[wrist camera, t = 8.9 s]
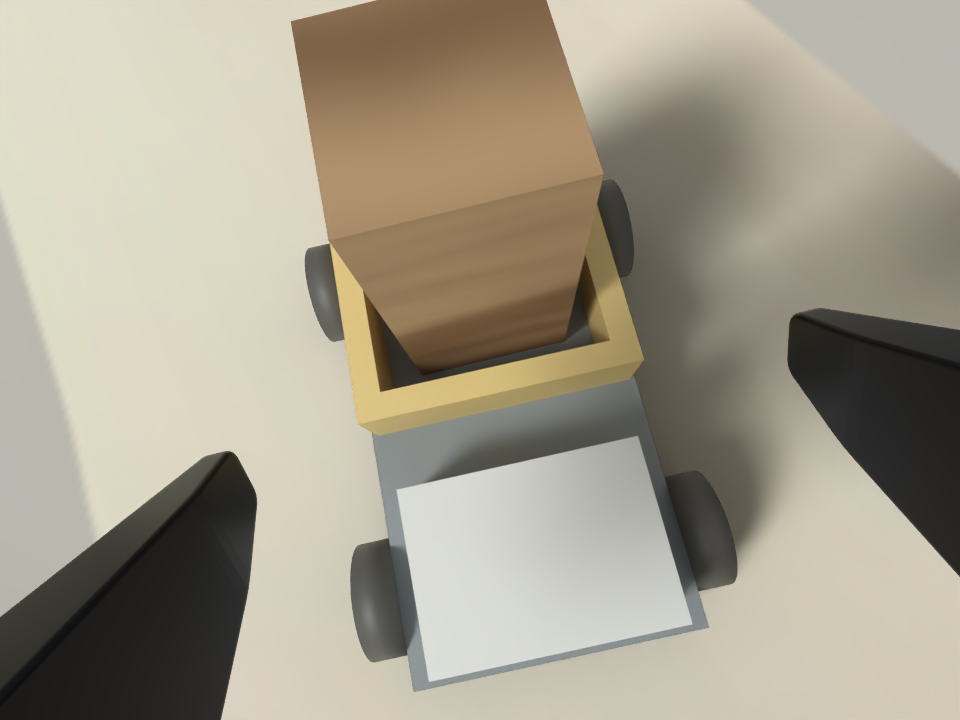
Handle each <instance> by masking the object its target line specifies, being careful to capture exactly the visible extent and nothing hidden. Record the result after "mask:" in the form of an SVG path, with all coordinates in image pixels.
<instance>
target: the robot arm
mask: <svg viewBox="0 0 960 720" xmlns="http://www.w3.org/2000/svg"><path fill="white" fill-rule="evenodd" d="M787 359H788V367H789V370H790V372H791V374H792V376H793V377H794V379H795V380H796V382H797V383H798V384H799V386H800V387H801V389H802V390H803V391H804V393H805V394H806V396H807V397H808V398H809V400H810V401H811V403H812V404H813V405H814V407H815V408H816V410H817V411H818V412H819V414H820V415H821V417H822V418H823V419H824V421H825V422H826V424H827V425H828V426H829V428H830V429H831V431H832V432H833V433H834V435H835V436H836V437H837V439H838V440H839V441H840V443H841V444H842V445H843V447H844V448H845V449H846V450H847V451H848V452H849V454H850V455H851V456H852V457H853V458H854V460H855V461H856V462H857V463H858V464H859V465H860V466H861V467H862V468H863V470H864V471H865V472H866V473H867V474H868V475H869V476H870V477H871V478H872V480H873V481H874V482H875V483H876V484H877V485H878V486H879V487H880V488H881V490H882V491H883V492H884V493H885V494H886V495H887V496H888V497H889V499H890V500H891V501H892V502H893V503H894V504H895V505H896V506H897V507H898V509H899V510H900V511H901V512H902V513H903V514H904V515H905V516H906V517H907V519H908V520H909V521H910V522H911V523H912V524H913V525H914V526H915V527H916V529H917V530H918V531H919V532H920V533H921V534H922V535H923V536H924V538H925V539H926V540H927V541H928V542H929V543H930V544H931V545H932V546H933V548H934V549H935V550H936V551H937V552H938V553H939V554H940V555H941V556H942V558H943V559H944V560H945V561H946V562H947V563H948V564H949V565H950V567H951V568H952V569H953V570H954V571H955V572H956V573H957V574H958V575H959V577H960V330H956V329H949V328H943V327H937V326H931V325H924V324H918V323H912V322H906V321H899V320H893V319H887V318H880V317H874V316H868V315H862V314H855V313H849V312H843V311H837V310H830V309H824V308H817V309H812V310H808V311H804V312H800V313H797V314H795V315H794V316H793V317H792V318H791V320H790V323H789V338H788V358H787ZM256 510H257V497H256V493H255V490H254V487H253V486H252V484H251V482H250V480H249V478H248V476H247V474H246V472H245V470H244V468H243V467H242V465H241V463H240V461H239V459H238V457H237V456H236V455H235V454H234V453H233V452H230V451H224V452H220V453H216V454H212V455H208V456H205V457H203V458H202V459H201V460H199V461H198V462H197V463H196V464H194V465H193V466H192V467H190V468H189V469H188V470H187V471H185V472H184V473H183V474H182V475H180V476H179V477H178V478H176V479H175V480H174V481H173V482H171V483H170V484H169V485H168V486H166V487H165V488H164V489H162V490H161V491H160V492H159V493H157V494H156V495H155V496H154V497H152V498H151V499H150V500H149V501H147V502H146V503H145V504H143V505H142V506H141V507H140V508H138V509H137V510H136V511H135V512H133V513H132V514H131V515H129V516H128V517H127V518H126V519H124V520H123V521H122V522H121V523H119V524H118V525H117V526H115V527H114V528H113V529H112V530H110V531H109V532H108V533H107V534H105V535H104V536H103V537H101V538H100V539H99V540H98V541H96V542H95V543H94V544H93V545H91V546H90V547H89V548H87V549H86V550H85V551H84V552H82V553H81V554H80V555H79V556H77V557H76V558H75V559H73V560H72V561H71V562H70V563H69V564H67V565H66V566H65V567H64V568H62V569H61V570H59V571H58V572H57V573H56V574H54V575H53V576H52V577H51V578H49V579H48V580H47V581H45V582H44V583H43V584H42V585H40V586H39V587H38V588H37V589H35V590H34V591H33V592H32V593H30V594H29V595H28V596H26V597H25V598H24V599H23V600H21V601H20V602H19V603H17V604H16V605H15V606H14V607H12V608H11V609H10V610H9V611H8V612H6V613H5V614H4V615H2V616H1V617H0V720H221V717H222V712H223V707H224V703H225V698H226V693H227V689H228V684H229V679H230V675H231V670H232V665H233V661H234V656H235V651H236V647H237V642H238V637H239V633H240V628H241V623H242V619H243V614H244V610H245V605H246V600H247V594H248V589H249V581H250V573H251V562H252V552H253V542H254V531H255V521H256Z"/></svg>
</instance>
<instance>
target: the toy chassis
mask: <svg viewBox="0 0 960 720" xmlns="http://www.w3.org/2000/svg"><path fill="white" fill-rule="evenodd" d="M633 258H634V246H633V235H632V228H631V222H630V217H629V213H628V209H627V206H626V202H625V200H624V197H623V194H622V192H621V190H620V188H619V186H618V185H617V184H616V182H615V181H613V180H606V181H602V184H601V188H600V193H599V197H598V201H597V205H596V210H595V214H594V218H593V222H592V227H591V231H590V235H589V239H588V244H587V248H586V252H585V256H584V261H583V265H582V269H581V273H580V278H579V282H578V286H577V290H576V294H575V299H574V303H573V307H572V311H571V316H570V320H569V324H568V328H567V333H566V337H565V341H564V342H561V343H557V344H552V345H548V346H544V347H540V348H536V349H532V350H527V351H523V352H519V353H515V354H511V355H507V356H502V357H498V358H494V359H490V360H486V361H482V362H478V363H473V364H469V365H465V366H461V367H457V368H453V369H448V370H444V371H440V372H436V373H432V374H428V375H423V376H422V374H421V373H420V371H419V370H418V368H417V367H416V366H415V364H414V363H413V361H412V360H411V358H410V357H409V355H408V354H407V353H406V351H405V350H404V348H403V347H402V345H401V344H400V343H399V341H398V340H397V338H396V337H395V335H394V334H393V332H392V331H391V330H390V328H389V327H388V325H387V324H386V322H385V321H384V320H383V318H382V317H381V315H380V314H379V312H378V311H377V309H376V308H375V307H374V305H373V304H372V302H371V301H370V299H369V298H368V297H367V295H366V294H365V292H364V291H363V289H362V288H361V286H360V285H359V284H358V282H357V281H356V279H355V278H354V276H353V275H352V274H351V272H350V271H349V269H348V268H347V266H346V265H345V263H344V262H343V261H342V259H341V258H340V256H339V255H338V253H337V252H336V251H335V249H334V248H333V246H332V245H331V243H330V244H326V245H321V246H317V247H312V248H309V249H308V250H307V251H306V255H305V272H306V280H307V285H308V290H309V294H310V298H311V301H312V305H313V308H314V311H315V314H316V316H317V319H318V321H319V323H320V326H321V328H322V329H323V331H324V333H325V335H326V336H327V337H328V338H329V339H330V340H331V341H333V342H335V341H340V340H344V339H345V344H346V351H347V357H348V363H349V370H350V376H351V383H352V389H353V396H354V402H355V409H356V415H357V421H358V424H359V425H360V426H362V427H364V428H365V429H367V430H369V431H371V432H372V437H373V443H374V450H375V456H376V462H377V468H378V474H379V481H380V487H381V493H382V499H383V505H384V512H385V518H386V524H387V530H388V536H389V538H388V539H384V540H379V541H375V542H370V543H366V544H361V545H358V546H357V547H356V549H355V551H354V553H353V557H352V563H351V576H350V583H351V600H352V609H353V615H354V621H355V626H356V630H357V634H358V638H359V641H360V644H361V647H362V649H363V651H364V653H365V655H366V657H367V658H368V659H369V660H370V661H371V662H379V661H383V660H388V659H392V658H397V657H401V656H406V655H408V660H409V667H410V673H411V679H412V685H413V691H414V692H417V691H421V690H426V689H430V688H435V687H439V686H444V685H449V684H453V683H458V682H462V681H467V680H471V679H476V678H481V677H485V676H490V675H494V674H499V673H503V672H508V671H512V670H517V669H522V668H526V667H531V666H535V665H540V664H544V663H549V662H554V661H558V660H563V659H567V658H572V657H576V656H581V655H586V654H590V653H595V652H599V651H604V650H608V649H613V648H618V647H622V646H627V645H631V644H636V643H640V642H645V641H650V640H654V639H659V638H663V637H668V636H672V635H677V634H682V633H686V632H691V631H695V630H700V629H704V628H709V625H708V622H707V619H706V615H705V612H704V609H703V605H702V602H701V599H700V595H699V592H698V591H702V590H706V589H711V588H715V587H720V586H724V585H729V584H733V583H734V582H735V580H736V577H737V557H736V550H735V545H734V541H733V537H732V533H731V530H730V527H729V524H728V521H727V518H726V515H725V513H724V510H723V508H722V506H721V503H720V501H719V499H718V497H717V495H716V493H715V492H714V490H713V488H712V487H711V485H710V483H709V482H708V481H707V479H706V478H705V477H704V476H703V475H702V474H701V473H699V472H698V471H690V472H685V473H681V474H676V475H672V476H667V477H664V474H663V471H662V467H661V464H660V461H659V457H658V454H657V451H656V447H655V444H654V440H653V437H652V434H651V430H650V427H649V424H648V420H647V417H646V414H645V410H644V407H643V403H642V400H641V397H640V393H639V390H638V387H637V383H636V380H635V377H634V373H635V371H636V370H637V369H638V367H639V366H640V365H641V364H642V362H643V361H644V357H643V354H642V350H641V347H640V344H639V341H638V337H637V334H636V331H635V327H634V324H633V321H632V318H631V314H630V311H629V308H628V305H627V301H626V298H625V295H624V291H623V288H622V285H621V282H620V278H619V277H623V276H627V275H629V274H630V272H631V270H632V266H633Z"/></svg>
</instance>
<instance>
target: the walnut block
mask: <svg viewBox="0 0 960 720" xmlns="http://www.w3.org/2000/svg"><path fill="white" fill-rule="evenodd" d="M291 25H292V31H293V36H294V42H295V48H296V54H297V60H298V66H299V71H300V77H301V83H302V89H303V95H304V100H305V106H306V112H307V118H308V124H309V129H310V135H311V141H312V147H313V153H314V159H315V164H316V170H317V176H318V182H319V188H320V193H321V199H322V205H323V211H324V217H325V223H326V228H327V234H328V240H329V242H330V243H331V245H332V246H333V248H334V249H335V251H336V252H337V253H338V255H339V256H340V258H341V259H342V261H343V262H344V263H345V265H346V266H347V268H348V269H349V271H350V272H351V274H352V275H353V276H354V278H355V279H356V281H357V282H358V284H359V285H360V286H361V288H362V289H363V291H364V292H365V294H366V295H367V297H368V298H369V299H370V301H371V302H372V304H373V305H374V307H375V308H376V309H377V311H378V312H379V314H380V315H381V317H382V318H383V320H384V321H385V322H386V324H387V325H388V327H389V328H390V330H391V331H392V332H393V334H394V335H395V337H396V338H397V340H398V341H399V343H400V344H401V345H402V347H403V348H404V350H405V351H406V353H407V354H408V355H409V357H410V358H411V360H412V361H413V363H414V364H415V366H416V367H417V368H418V370H419V371H420V373H421V374H422V376H423V375H428V374H432V373H436V372H440V371H444V370H448V369H453V368H457V367H461V366H465V365H469V364H473V363H478V362H482V361H486V360H490V359H494V358H498V357H502V356H507V355H511V354H515V353H519V352H523V351H527V350H532V349H536V348H540V347H544V346H548V345H552V344H557V343H561V342H564V341H565V337H566V333H567V328H568V324H569V320H570V316H571V311H572V307H573V303H574V299H575V294H576V290H577V286H578V282H579V278H580V273H581V269H582V265H583V261H584V256H585V252H586V248H587V244H588V239H589V235H590V231H591V227H592V222H593V218H594V214H595V210H596V205H597V201H598V197H599V193H600V188H601V184H602V180H603V176H604V173H603V170H602V167H601V163H600V160H599V157H598V154H597V151H596V148H595V145H594V142H593V139H592V136H591V133H590V130H589V127H588V124H587V121H586V118H585V115H584V112H583V109H582V106H581V103H580V100H579V97H578V94H577V91H576V88H575V85H574V82H573V79H572V76H571V73H570V70H569V67H568V64H567V61H566V58H565V55H564V52H563V49H562V46H561V43H560V40H559V37H558V34H557V31H556V28H555V25H554V22H553V19H552V16H551V13H550V10H549V7H548V4H547V1H546V0H376V1H372V2H368V3H364V4H360V5H356V6H352V7H348V8H344V9H340V10H336V11H332V12H328V13H323V14H319V15H315V16H311V17H307V18H303V19H299V20H295V21H291Z"/></svg>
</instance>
